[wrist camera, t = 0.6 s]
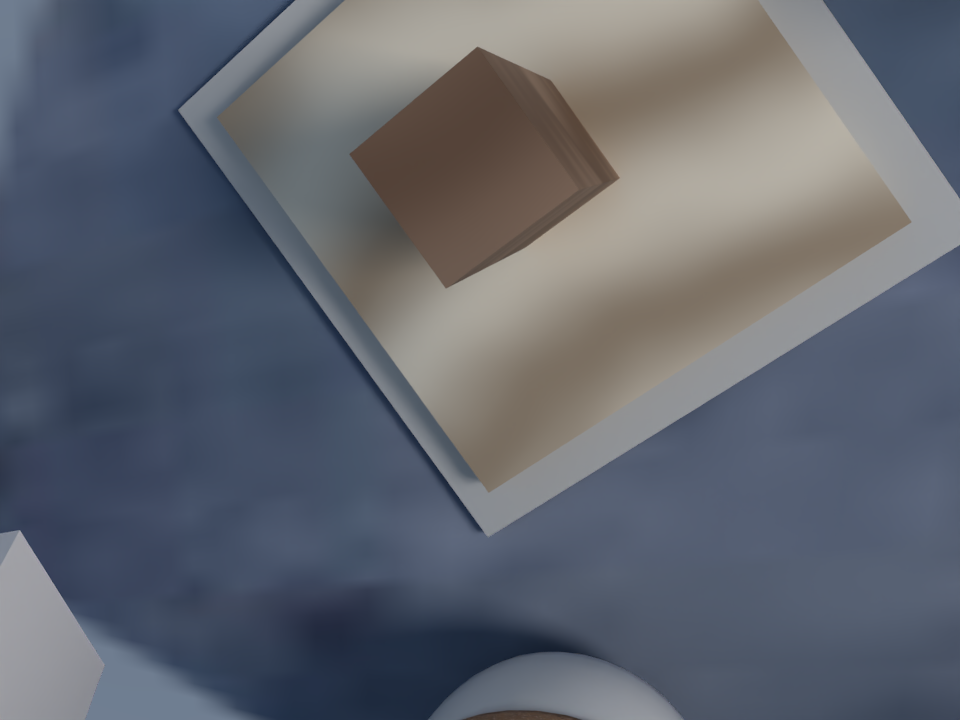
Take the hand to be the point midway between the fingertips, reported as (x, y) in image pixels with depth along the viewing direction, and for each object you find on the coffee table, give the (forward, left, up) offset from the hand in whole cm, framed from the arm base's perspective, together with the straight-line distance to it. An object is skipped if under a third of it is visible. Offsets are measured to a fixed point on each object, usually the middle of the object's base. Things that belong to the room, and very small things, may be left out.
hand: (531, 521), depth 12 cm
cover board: (+5, 0, -18) cm, 19 cm away
